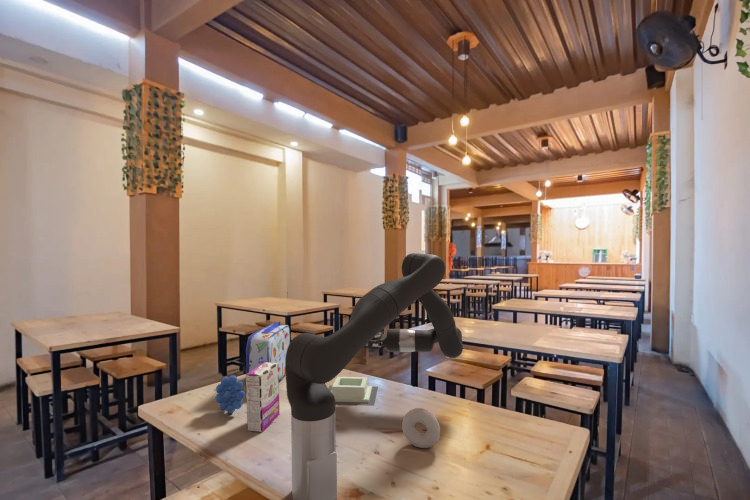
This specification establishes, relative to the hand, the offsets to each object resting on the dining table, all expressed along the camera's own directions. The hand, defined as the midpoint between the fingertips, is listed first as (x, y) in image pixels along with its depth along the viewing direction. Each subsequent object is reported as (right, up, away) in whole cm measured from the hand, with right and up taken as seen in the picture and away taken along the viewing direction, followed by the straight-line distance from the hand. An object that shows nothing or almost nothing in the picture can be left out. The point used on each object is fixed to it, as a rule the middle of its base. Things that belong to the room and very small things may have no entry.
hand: (352, 339), depth 127 cm
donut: (+20, -20, -32) cm, 43 cm away
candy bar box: (-25, -21, -18) cm, 37 cm away
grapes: (-37, -21, -10) cm, 44 cm away
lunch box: (-33, -20, +16) cm, 42 cm away
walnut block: (+3, -8, 0) cm, 8 cm away
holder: (-1, -20, +1) cm, 20 cm away
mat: (-1, -20, +1) cm, 20 cm away
